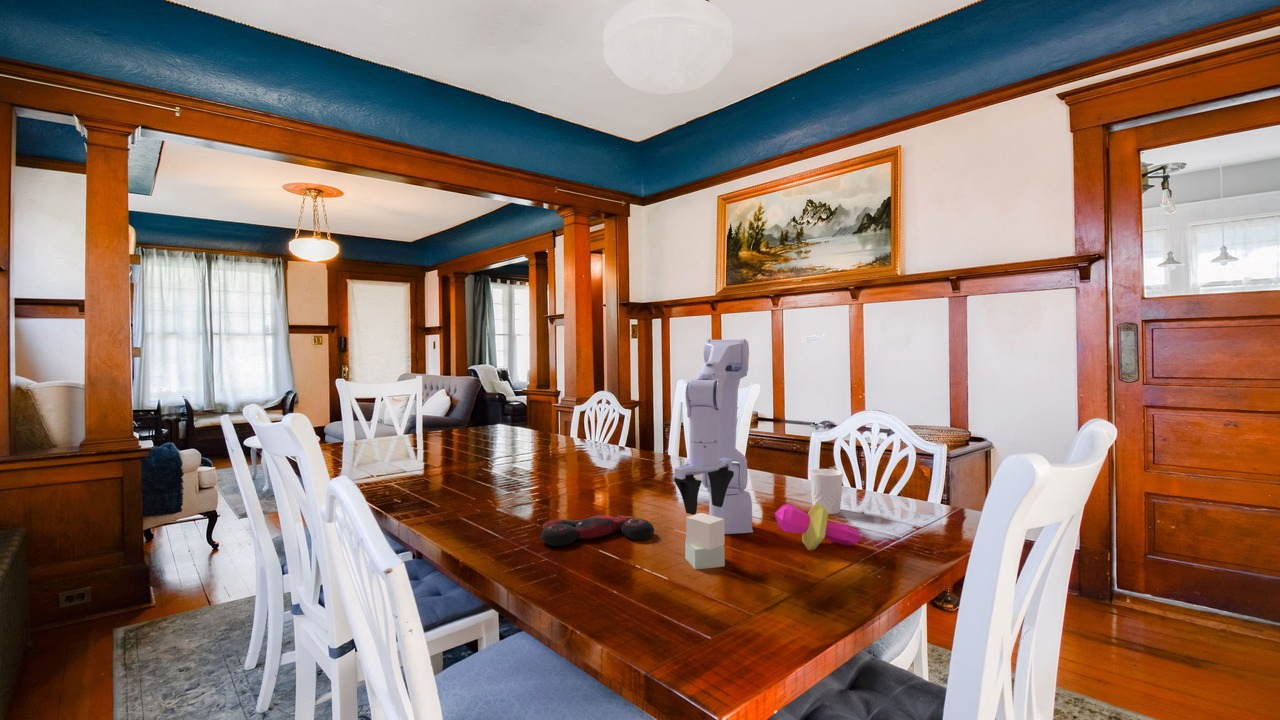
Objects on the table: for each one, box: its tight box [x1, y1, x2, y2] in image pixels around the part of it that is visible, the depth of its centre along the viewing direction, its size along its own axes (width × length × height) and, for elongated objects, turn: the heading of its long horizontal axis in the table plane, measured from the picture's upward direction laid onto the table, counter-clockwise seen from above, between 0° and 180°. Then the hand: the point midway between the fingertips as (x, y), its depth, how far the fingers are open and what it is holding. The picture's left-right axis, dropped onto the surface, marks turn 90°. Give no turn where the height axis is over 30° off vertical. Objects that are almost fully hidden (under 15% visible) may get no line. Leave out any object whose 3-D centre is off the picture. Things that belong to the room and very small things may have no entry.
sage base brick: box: [684, 538, 726, 570], centre depth 115 cm, size 6×6×4 cm
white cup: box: [810, 468, 843, 515], centre depth 149 cm, size 8×8×10 cm
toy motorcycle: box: [540, 514, 655, 547], centre depth 133 cm, size 25×5×16 cm
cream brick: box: [685, 512, 726, 550], centre depth 114 cm, size 4×6×5 cm
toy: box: [774, 502, 863, 551], centre depth 123 cm, size 10×18×10 cm, turn 87°
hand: (704, 509), depth 114 cm, fingers open, 7 cm apart
